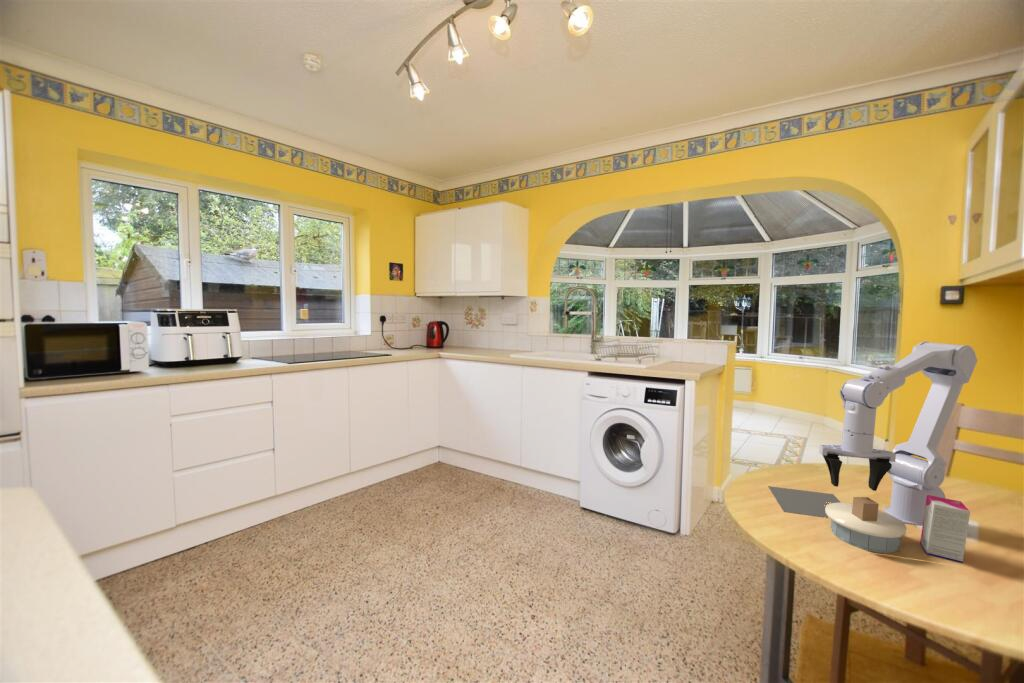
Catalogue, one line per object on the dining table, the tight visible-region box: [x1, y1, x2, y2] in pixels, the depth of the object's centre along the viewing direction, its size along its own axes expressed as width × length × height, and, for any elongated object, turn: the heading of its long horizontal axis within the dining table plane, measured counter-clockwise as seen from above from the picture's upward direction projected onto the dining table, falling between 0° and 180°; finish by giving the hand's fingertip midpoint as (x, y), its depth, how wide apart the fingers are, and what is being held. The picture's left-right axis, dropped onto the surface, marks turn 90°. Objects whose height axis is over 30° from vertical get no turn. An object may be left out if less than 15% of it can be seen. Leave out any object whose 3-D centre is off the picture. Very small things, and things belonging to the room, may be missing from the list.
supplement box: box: [919, 495, 971, 564], centre depth 95 cm, size 6×6×12 cm
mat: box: [768, 485, 842, 519], centre depth 117 cm, size 16×16×1 cm
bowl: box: [830, 519, 902, 555], centre depth 100 cm, size 12×12×4 cm
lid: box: [825, 496, 908, 538], centre depth 100 cm, size 14×14×5 cm
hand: (853, 486), depth 105 cm, fingers open, 7 cm apart
